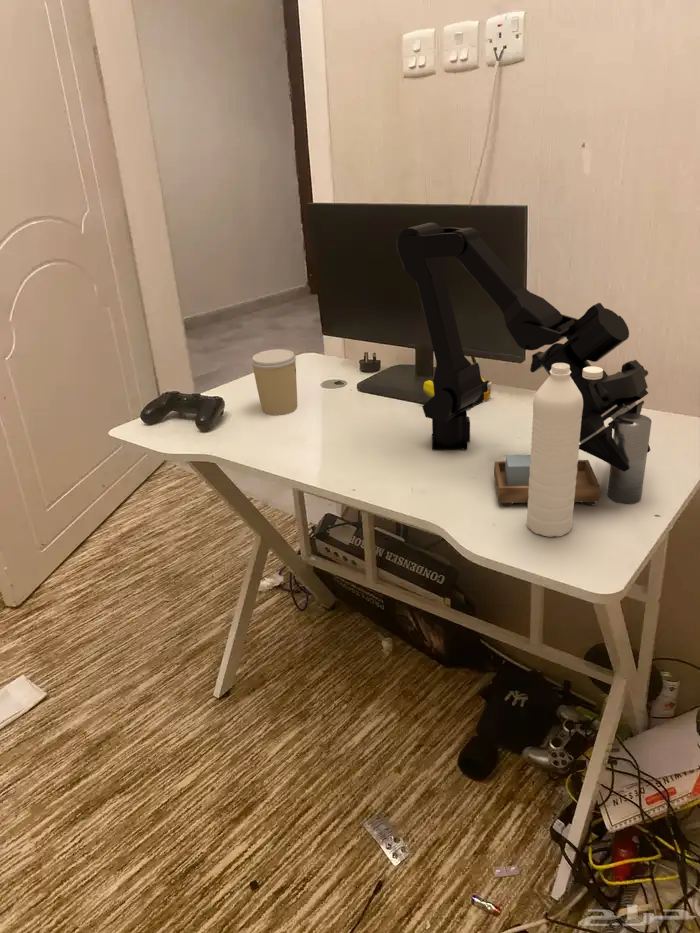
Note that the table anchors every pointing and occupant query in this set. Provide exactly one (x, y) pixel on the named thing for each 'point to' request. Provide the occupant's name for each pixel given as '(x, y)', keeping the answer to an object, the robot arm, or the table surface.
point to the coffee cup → (276, 381)
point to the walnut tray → (584, 489)
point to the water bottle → (555, 451)
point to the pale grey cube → (517, 470)
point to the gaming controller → (486, 392)
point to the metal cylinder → (629, 458)
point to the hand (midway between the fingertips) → (637, 461)
